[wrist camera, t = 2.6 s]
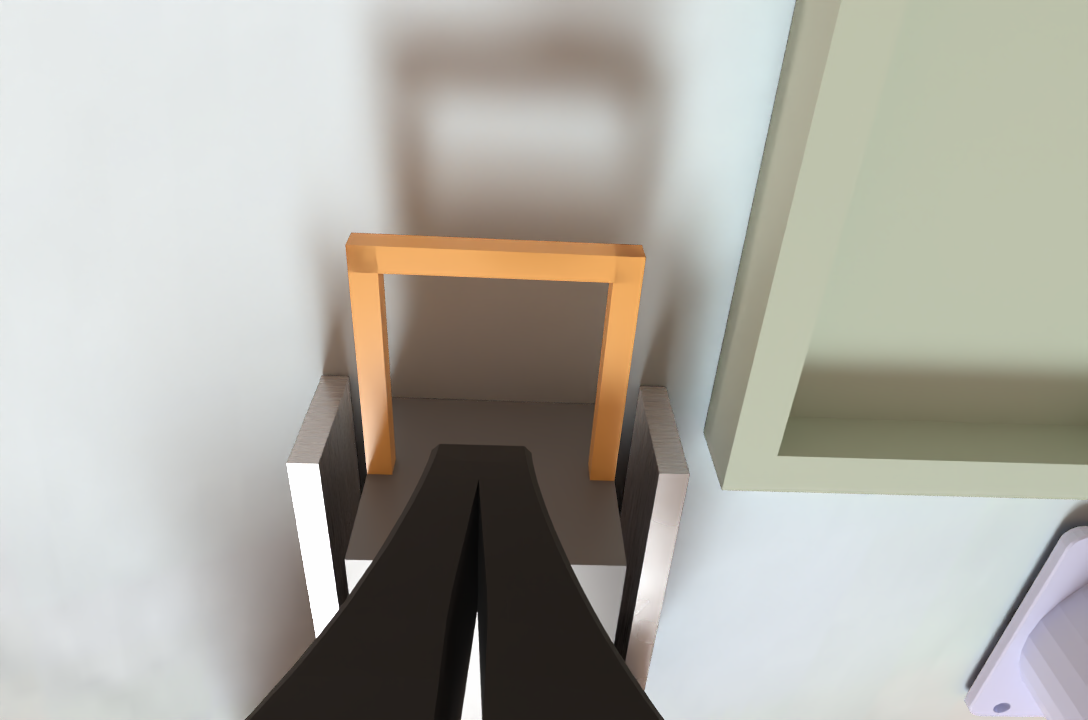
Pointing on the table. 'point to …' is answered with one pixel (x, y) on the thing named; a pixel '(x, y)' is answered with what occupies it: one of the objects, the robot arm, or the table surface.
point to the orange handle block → (498, 407)
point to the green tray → (916, 258)
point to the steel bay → (646, 515)
